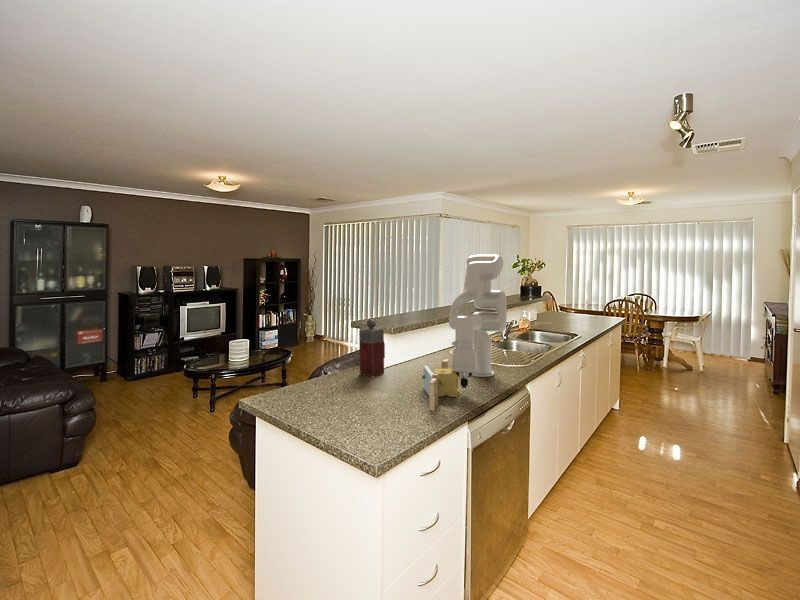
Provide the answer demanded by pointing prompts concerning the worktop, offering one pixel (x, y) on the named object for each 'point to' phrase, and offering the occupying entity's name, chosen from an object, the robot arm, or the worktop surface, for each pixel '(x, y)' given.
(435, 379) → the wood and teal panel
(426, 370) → the door
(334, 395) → the worktop surface
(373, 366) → the red canister
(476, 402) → the worktop surface
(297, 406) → the worktop surface
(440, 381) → the cheese
